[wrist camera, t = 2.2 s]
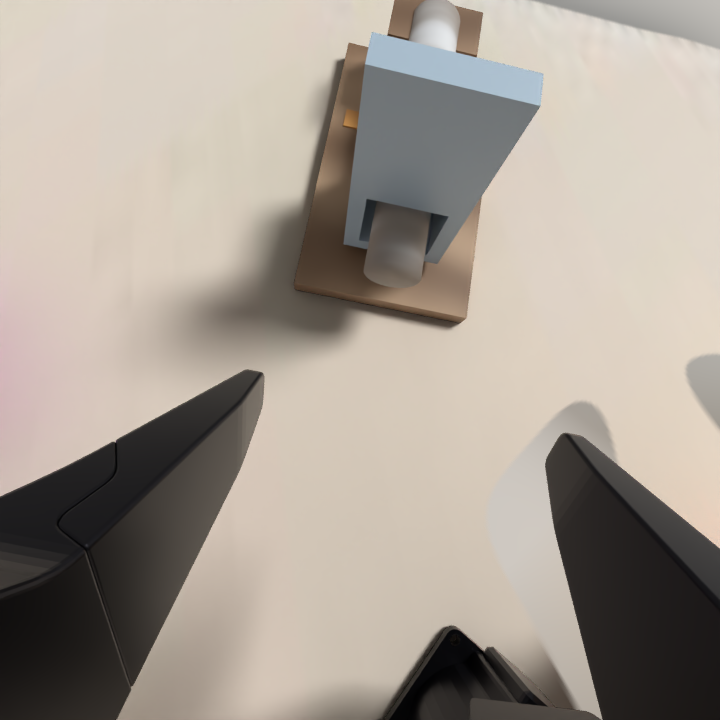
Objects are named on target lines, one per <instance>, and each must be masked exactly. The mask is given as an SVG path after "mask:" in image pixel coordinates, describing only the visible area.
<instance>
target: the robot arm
mask: <svg viewBox="0 0 720 720" xmlns="http://www.w3.org/2000/svg"><path fill="white" fill-rule="evenodd" d="M263 395H264V374H263V373H262V372H258V371H253V370H244V371H242V372H240V373H238V374H236V375H234V376H233V377H231V378H229V379H227V380H225V381H223V382H222V383H220V384H218V385H216V386H214V387H212V388H211V389H209V390H207V391H205V392H203V393H201V394H200V395H198V396H196V397H194V398H192V399H190V400H189V401H187V402H185V403H183V404H181V405H179V406H177V407H176V408H174V409H172V410H170V411H168V412H166V413H165V414H163V415H161V416H159V417H157V418H155V419H154V420H152V421H150V422H148V423H146V424H144V425H143V426H141V427H139V428H137V429H135V430H133V431H132V432H130V433H128V434H126V435H124V436H122V437H120V438H119V439H117V440H116V443H115V442H111V443H109V444H107V445H105V446H104V447H102V448H100V449H98V450H96V451H94V452H92V453H91V454H89V455H87V456H85V457H83V458H81V459H79V460H77V461H75V462H73V463H71V464H69V465H67V466H65V467H63V468H61V469H59V470H57V471H55V472H53V473H51V474H48V475H46V476H44V477H42V478H40V479H38V480H36V481H34V482H31V483H29V484H27V485H25V486H23V487H20V488H18V489H16V490H14V491H11V492H9V493H7V494H5V495H3V496H0V720H116V719H117V717H118V715H119V713H120V711H121V709H122V707H123V705H124V703H125V701H126V699H127V697H128V695H129V693H130V691H131V687H132V686H133V685H134V683H135V681H136V679H137V677H138V675H139V673H140V671H141V669H142V667H143V665H144V662H145V660H146V658H147V656H148V654H149V652H150V650H151V648H152V646H153V644H154V642H155V640H156V638H157V636H158V634H159V632H160V630H161V628H162V626H163V624H164V622H165V620H166V618H167V616H168V614H169V612H170V610H171V608H172V606H173V604H174V602H175V600H176V598H177V596H178V594H179V592H180V590H181V588H182V586H183V584H184V582H185V580H186V578H187V576H188V574H189V572H190V570H191V568H192V566H193V564H194V562H195V560H196V558H197V556H198V554H199V552H200V550H201V548H202V546H203V544H204V542H205V540H206V538H207V536H208V533H209V531H210V529H211V527H212V525H213V523H214V521H215V519H216V517H217V515H218V513H219V511H220V509H221V507H222V505H223V503H224V501H225V499H226V497H227V495H228V493H229V491H230V489H231V487H232V485H233V483H234V481H235V479H236V477H237V475H238V473H239V471H240V468H241V466H242V463H243V461H244V458H245V455H246V453H247V450H248V447H249V444H250V441H251V438H252V435H253V433H254V430H255V427H256V424H257V421H258V418H259V415H260V412H261V409H262V405H263ZM545 468H546V476H547V482H548V490H549V497H550V504H551V511H552V519H553V524H554V529H555V534H556V538H557V542H558V546H559V550H560V554H561V558H562V562H563V566H564V569H565V574H566V578H567V581H568V585H569V589H570V593H571V597H572V601H573V605H574V609H575V613H576V616H577V621H578V625H579V629H580V633H581V636H582V640H583V644H584V648H585V652H586V656H587V660H588V664H589V668H590V672H591V676H592V680H593V684H594V688H595V691H596V695H597V699H598V703H599V707H600V711H601V715H602V719H603V720H720V548H718V547H717V546H716V545H715V544H713V543H712V542H711V541H710V540H709V539H707V538H706V537H705V536H704V535H702V534H701V533H700V532H699V531H698V530H696V529H695V528H694V527H693V526H691V525H690V524H689V523H688V522H687V521H685V520H684V519H683V518H682V517H681V516H679V515H678V514H677V513H676V512H674V511H673V510H672V509H671V508H670V507H668V506H667V505H666V504H665V503H663V502H662V501H661V500H660V499H659V498H657V497H656V496H655V495H654V494H652V493H651V492H650V491H649V490H648V489H646V488H645V487H644V486H643V485H641V484H640V483H639V482H638V481H637V480H635V479H634V478H633V477H632V476H630V475H629V474H628V473H627V472H626V471H624V470H623V469H622V468H621V467H620V466H618V465H617V464H616V463H615V462H613V461H612V460H611V459H610V458H608V457H607V456H606V455H605V454H604V453H602V452H601V451H600V450H599V449H598V448H596V447H595V446H594V445H593V444H591V443H590V442H589V441H588V440H586V439H585V438H584V437H582V436H580V435H575V434H570V433H563V434H561V435H560V437H559V438H558V439H557V441H556V443H555V445H554V446H553V448H552V450H551V451H550V453H549V455H548V457H547V459H546V463H545ZM455 634H456V635H457V640H456V641H455V642H450V638H451V636H452V635H455ZM384 720H601V719H599V718H598V717H596V716H595V715H593V714H591V713H589V712H586V711H580V710H572V709H563V708H555V707H554V706H553V704H552V703H551V702H550V701H549V700H548V699H547V698H546V697H545V696H544V694H543V693H542V692H541V691H540V690H539V689H538V688H537V687H536V686H535V684H534V683H533V682H532V681H531V680H530V679H529V678H528V677H527V676H525V675H524V674H523V673H522V672H521V671H520V670H519V669H518V668H516V667H515V666H514V665H513V664H512V663H511V662H510V661H508V660H507V659H506V658H505V657H504V656H503V655H502V654H500V653H499V652H498V651H497V650H496V649H495V648H494V647H487V648H486V649H485V651H484V650H483V649H482V648H481V647H479V646H478V645H477V644H476V643H475V642H474V641H473V640H471V639H470V638H469V637H468V636H467V635H466V634H465V633H464V632H462V631H461V630H460V629H459V628H458V627H456V626H449V627H447V628H446V629H445V630H444V632H443V633H442V635H441V636H440V638H439V639H438V641H437V642H436V644H435V645H434V647H433V648H432V650H431V651H430V652H429V654H428V655H427V657H426V658H425V660H424V661H423V663H422V664H421V666H420V667H419V669H418V670H417V672H416V673H415V675H414V676H413V678H412V679H411V681H410V682H409V684H408V685H407V686H406V688H405V689H404V691H403V692H402V694H401V695H400V697H399V698H398V700H397V701H396V703H395V704H394V706H393V707H392V709H391V710H390V712H389V713H388V715H387V716H386V718H385V719H384Z"/></svg>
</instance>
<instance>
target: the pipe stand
mask: <svg viewBox="0 0 720 720" xmlns="http://www.w3.org/2000/svg"><path fill="white" fill-rule="evenodd" d="M482 16H483V13H482V12H478V11H474V10H470V9H466V8H462V7H458V6H454V5H453V4H452V3H451V2H449V1H447V0H395V1H394V6H393V10H392V15H391V20H390V25H389V30H388V35H387V36H390V37H394V38H399V39H403V40H407V41H411V42H415V43H419V44H423V45H427V46H431V47H435V48H440V49H444V50H448V51H452V52H456V53H460V54H464V55H468V56H472V57H477V52H478V45H479V38H480V31H481V24H482ZM368 48H369V47H365V46H360V45H356V44H352V43H349V44H348V49H347V53H346V57H345V62H344V66H343V70H342V75H341V79H340V84H339V88H338V92H337V97H336V101H335V105H334V110H333V114H332V119H331V123H330V127H329V132H328V136H327V140H326V145H325V149H324V154H323V158H322V162H321V167H320V171H319V175H318V180H317V184H316V189H315V193H314V197H313V202H312V206H311V210H310V215H309V219H308V224H307V228H306V232H305V237H304V241H303V245H302V250H301V254H300V259H299V263H298V267H297V272H296V276H295V280H294V286H295V289H296V290H300V291H305V292H310V293H315V294H320V295H325V296H330V297H335V298H340V299H345V300H350V301H354V302H359V303H364V304H369V305H374V306H379V307H384V308H389V309H394V310H399V311H404V312H408V313H413V314H418V315H423V316H428V317H433V318H438V319H443V320H448V321H453V322H458V323H461V322H462V321H464V320H465V319H466V317H467V309H468V301H469V293H470V285H471V277H472V269H473V261H474V253H475V245H476V237H477V229H478V221H479V213H480V205H481V198H480V199H479V201H478V203H477V204H476V206H475V207H474V209H473V210H472V212H471V213H470V215H469V216H468V218H467V219H466V221H465V222H464V224H463V226H462V227H461V229H460V230H459V232H458V233H457V235H456V236H455V238H454V239H453V241H452V242H451V244H450V245H449V247H448V249H447V250H446V252H445V253H444V255H443V256H442V258H441V259H440V261H439V262H438V264H434V263H430V262H425V261H424V256H425V250H426V243H427V237H428V231H429V224H430V218H431V213H430V212H426V211H421V210H417V209H412V208H408V207H403V206H398V205H394V204H389V203H385V202H380V201H377V202H376V207H375V212H374V217H373V223H372V228H371V233H370V239H369V244H368V249H363V248H359V247H354V246H349V245H344V244H343V243H344V235H345V227H346V218H347V210H348V202H349V193H350V185H351V177H352V168H353V160H354V152H355V143H356V135H357V127H358V118H359V110H360V102H361V93H362V85H363V77H364V68H365V62H366V57H367V52H368ZM481 197H482V196H481Z"/></svg>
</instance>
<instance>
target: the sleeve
mask: <svg viewBox="0 0 720 720" xmlns="http://www.w3.org/2000/svg"><path fill="white" fill-rule="evenodd" d="M542 85H543V74H542V73H538V72H534V71H530V70H526V69H522V68H518V67H514V66H509V65H505V64H501V63H497V62H493V61H489V60H485V59H481V58H477V57H472V56H468V55H464V54H460V53H456V52H452V51H448V50H444V49H440V48H435V47H431V46H427V45H423V44H419V43H415V42H411V41H407V40H403V39H399V38H394V37H390V36H386V35H382V34H378V33H374V32H372V34H371V38H370V43H369V48H368V52H367V57H366V62H365V68H364V77H363V85H362V93H361V102H360V110H359V118H358V127H357V135H356V143H355V152H354V160H353V168H352V177H351V185H350V193H349V202H348V210H347V218H346V227H345V235H344V243H343V244H344V245H349V246H354V247H359V248H363V249H368V244H369V239H370V233H371V228H372V223H373V217H374V212H375V207H376V202H377V201H380V202H385V203H389V204H394V205H398V206H403V207H408V208H412V209H417V210H421V211H426V212H430V213H431V218H430V224H429V231H428V237H427V243H426V250H425V256H424V261H425V262H430V263H434V264H438V262H439V261H440V259H441V258H442V256H443V255H444V253H445V252H446V250H447V249H448V247H449V245H450V244H451V242H452V241H453V239H454V238H455V236H456V235H457V233H458V232H459V230H460V229H461V227H462V226H463V224H464V222H465V221H466V219H467V218H468V216H469V215H470V213H471V212H472V210H473V209H474V207H475V206H476V204H477V203H478V201H479V199H480V198H481V196H482V195H483V193H484V192H485V190H486V189H487V187H488V186H489V184H490V183H491V181H492V179H493V178H494V176H495V175H496V173H497V172H498V170H499V169H500V167H501V166H502V164H503V163H504V161H505V160H506V158H507V156H508V155H509V153H510V152H511V150H512V149H513V147H514V146H515V144H516V143H517V141H518V140H519V138H520V137H521V135H522V133H523V132H524V130H525V129H526V127H527V126H528V124H529V123H530V121H531V120H532V118H533V117H534V115H535V114H536V112H537V110H538V109H539V107H540V106H541V95H542Z"/></svg>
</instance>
